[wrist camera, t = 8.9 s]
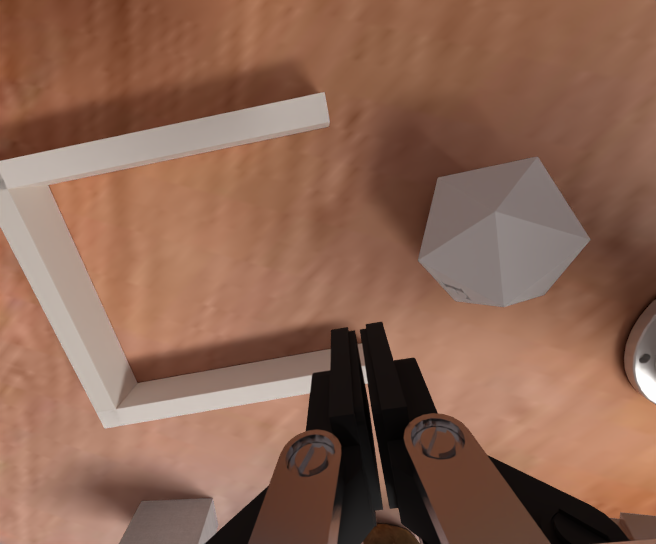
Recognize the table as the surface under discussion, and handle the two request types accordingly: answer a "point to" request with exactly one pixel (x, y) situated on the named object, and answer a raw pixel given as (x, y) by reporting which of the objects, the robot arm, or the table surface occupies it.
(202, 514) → the grey faceted angular block
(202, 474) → the table surface
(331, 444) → the robot arm
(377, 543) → the shell
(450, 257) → the die
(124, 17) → the table surface
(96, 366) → the bay
